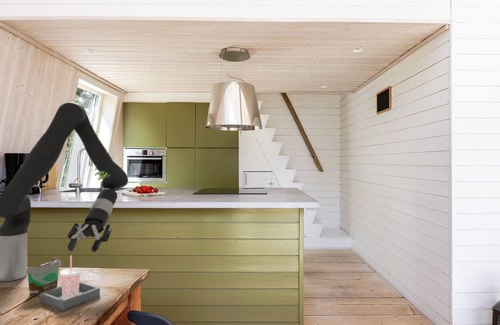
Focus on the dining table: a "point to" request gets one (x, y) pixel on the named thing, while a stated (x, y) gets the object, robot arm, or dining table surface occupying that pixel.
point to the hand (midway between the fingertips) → (81, 250)
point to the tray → (56, 301)
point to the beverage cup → (70, 281)
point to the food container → (43, 276)
